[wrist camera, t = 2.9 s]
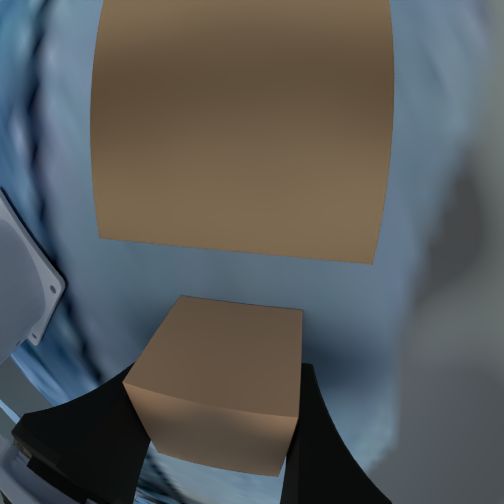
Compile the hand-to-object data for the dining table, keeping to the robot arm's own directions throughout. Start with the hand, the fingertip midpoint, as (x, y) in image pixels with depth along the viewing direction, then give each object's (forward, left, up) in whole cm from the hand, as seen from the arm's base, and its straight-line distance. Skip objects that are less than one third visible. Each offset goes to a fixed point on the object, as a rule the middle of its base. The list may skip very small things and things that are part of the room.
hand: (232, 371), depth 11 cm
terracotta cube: (0, 0, -1) cm, 1 cm away
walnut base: (+7, +7, -2) cm, 10 cm away
